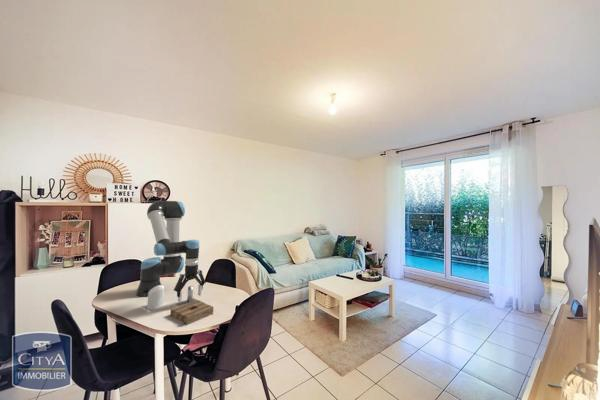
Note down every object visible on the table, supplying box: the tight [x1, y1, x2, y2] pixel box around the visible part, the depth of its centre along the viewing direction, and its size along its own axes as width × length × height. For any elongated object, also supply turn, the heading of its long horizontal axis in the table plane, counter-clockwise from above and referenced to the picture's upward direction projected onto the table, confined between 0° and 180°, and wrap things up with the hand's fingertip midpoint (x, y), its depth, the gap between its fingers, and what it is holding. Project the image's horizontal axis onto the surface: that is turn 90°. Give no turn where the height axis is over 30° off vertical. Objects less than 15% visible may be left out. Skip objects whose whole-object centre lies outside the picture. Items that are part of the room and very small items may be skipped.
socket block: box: [169, 299, 214, 325], centre depth 133 cm, size 16×16×4 cm
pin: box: [186, 285, 194, 303], centre depth 148 cm, size 3×3×10 cm
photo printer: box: [146, 284, 165, 311], centre depth 142 cm, size 10×4×12 cm, turn 172°
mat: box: [175, 297, 205, 306], centre depth 148 cm, size 12×12×1 cm
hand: (190, 298), depth 148 cm, fingers open, 13 cm apart
